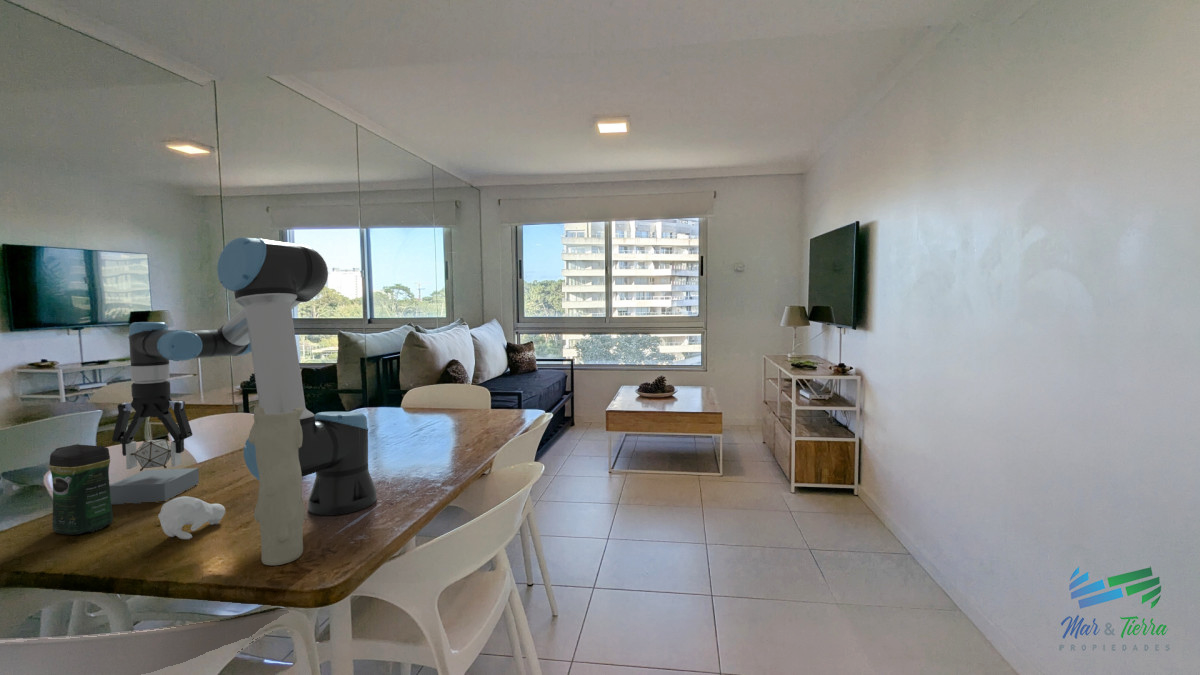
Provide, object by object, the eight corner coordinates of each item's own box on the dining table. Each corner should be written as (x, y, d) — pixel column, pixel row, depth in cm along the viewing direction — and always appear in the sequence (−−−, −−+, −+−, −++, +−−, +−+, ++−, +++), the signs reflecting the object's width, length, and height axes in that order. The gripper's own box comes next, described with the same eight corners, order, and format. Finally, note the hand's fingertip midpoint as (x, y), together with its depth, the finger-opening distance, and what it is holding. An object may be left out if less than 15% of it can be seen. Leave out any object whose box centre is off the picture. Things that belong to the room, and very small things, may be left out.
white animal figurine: (155, 499, 105) (214, 485, 116) (152, 540, 104) (212, 523, 116) (176, 502, 103) (234, 488, 114) (173, 545, 102) (232, 526, 114)
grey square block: (165, 503, 126) (164, 483, 126) (107, 506, 124) (106, 486, 124) (199, 485, 139) (198, 468, 139) (146, 487, 137) (146, 469, 137)
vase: (245, 568, 94) (240, 409, 92) (274, 546, 102) (270, 401, 101) (291, 568, 94) (287, 409, 92) (317, 547, 102) (313, 401, 101)
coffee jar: (121, 523, 113) (117, 442, 113) (78, 538, 106) (73, 451, 105) (89, 519, 116) (85, 439, 115) (44, 533, 108) (40, 448, 107)
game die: (157, 484, 130) (149, 459, 124) (127, 472, 130) (117, 447, 125) (188, 458, 138) (181, 435, 132) (159, 447, 138) (151, 423, 132)
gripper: (207, 378, 136) (210, 459, 137) (111, 380, 131) (115, 464, 132) (191, 382, 129) (194, 468, 130) (89, 384, 124) (93, 473, 125)
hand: (154, 466), depth 131 cm, fingers closed on game die, 9 cm apart
